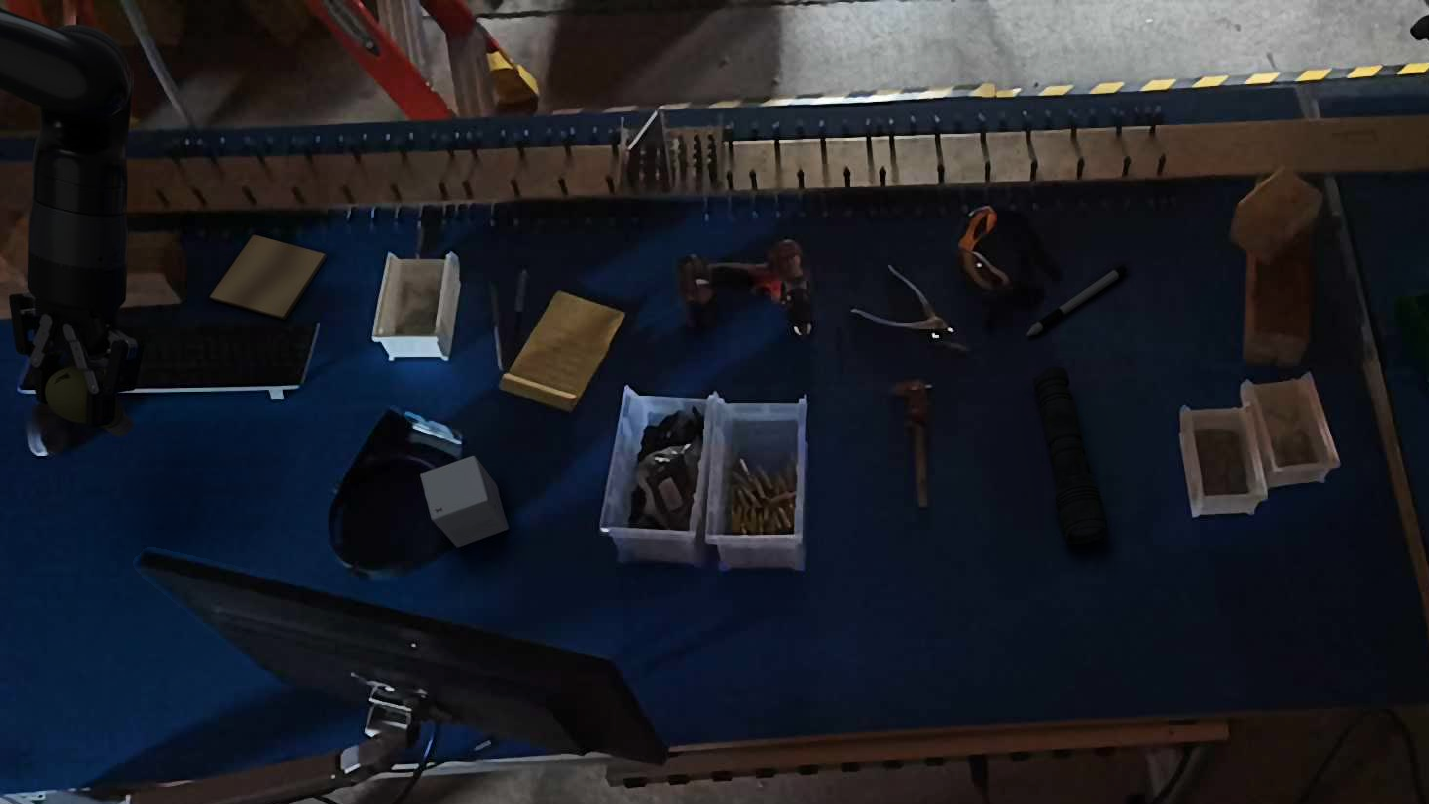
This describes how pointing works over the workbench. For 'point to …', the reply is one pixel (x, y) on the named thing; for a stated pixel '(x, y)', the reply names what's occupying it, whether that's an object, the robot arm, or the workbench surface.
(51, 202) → the robot arm
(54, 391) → the light bulb
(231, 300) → the mat
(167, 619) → the workbench surface
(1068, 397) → the flashlight
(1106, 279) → the pen
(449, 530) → the product box
